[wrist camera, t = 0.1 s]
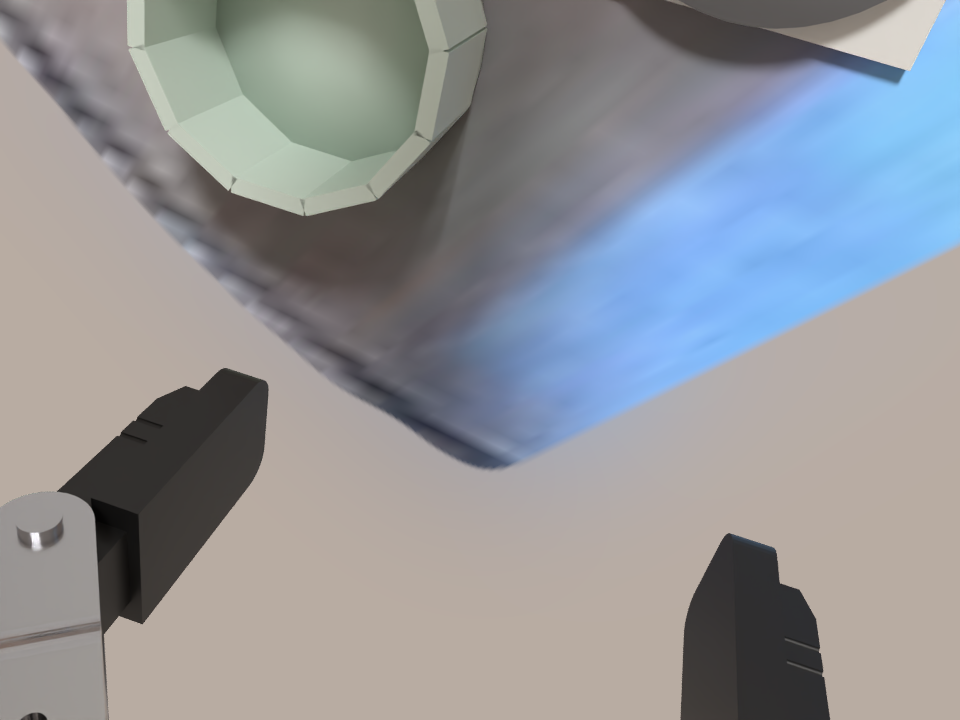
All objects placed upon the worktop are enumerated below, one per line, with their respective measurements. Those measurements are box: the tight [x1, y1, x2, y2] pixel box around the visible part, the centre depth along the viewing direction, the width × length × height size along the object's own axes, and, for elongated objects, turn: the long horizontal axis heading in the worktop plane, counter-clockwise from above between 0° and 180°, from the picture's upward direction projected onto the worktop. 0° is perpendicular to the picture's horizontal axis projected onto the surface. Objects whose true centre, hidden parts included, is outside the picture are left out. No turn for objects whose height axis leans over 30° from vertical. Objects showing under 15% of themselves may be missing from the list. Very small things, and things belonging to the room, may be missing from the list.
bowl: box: [127, 0, 487, 216], centre depth 36 cm, size 14×14×7 cm
